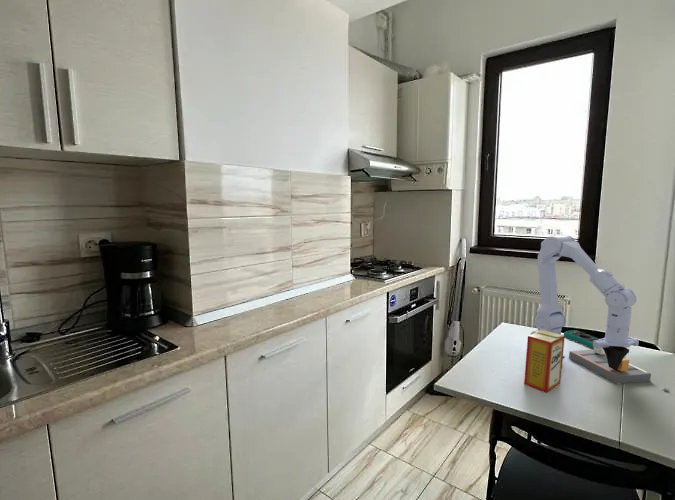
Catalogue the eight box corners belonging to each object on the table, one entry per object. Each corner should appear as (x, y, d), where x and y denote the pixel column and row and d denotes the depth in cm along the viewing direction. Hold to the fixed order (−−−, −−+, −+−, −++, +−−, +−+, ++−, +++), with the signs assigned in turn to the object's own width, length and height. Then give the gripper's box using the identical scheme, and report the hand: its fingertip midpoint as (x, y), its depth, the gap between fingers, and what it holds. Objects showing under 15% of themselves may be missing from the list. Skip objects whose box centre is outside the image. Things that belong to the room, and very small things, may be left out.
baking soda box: (546, 393, 105) (551, 341, 103) (524, 384, 111) (527, 334, 108) (560, 383, 111) (564, 334, 109) (538, 375, 116) (542, 328, 114)
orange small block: (621, 371, 113) (622, 360, 112) (612, 367, 116) (613, 356, 115) (627, 370, 113) (629, 360, 113) (619, 366, 116) (620, 356, 116)
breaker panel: (617, 383, 111) (619, 364, 110) (568, 357, 129) (570, 340, 129) (650, 381, 113) (652, 361, 112) (597, 355, 131) (599, 338, 130)
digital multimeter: (575, 335, 153) (575, 328, 152) (610, 349, 138) (610, 341, 138) (561, 337, 151) (562, 330, 150) (595, 351, 136) (596, 343, 136)
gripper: (608, 332, 107) (604, 375, 109) (650, 330, 109) (645, 372, 111) (589, 324, 114) (585, 365, 116) (628, 322, 116) (623, 362, 118)
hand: (613, 368), depth 114 cm, fingers closed
